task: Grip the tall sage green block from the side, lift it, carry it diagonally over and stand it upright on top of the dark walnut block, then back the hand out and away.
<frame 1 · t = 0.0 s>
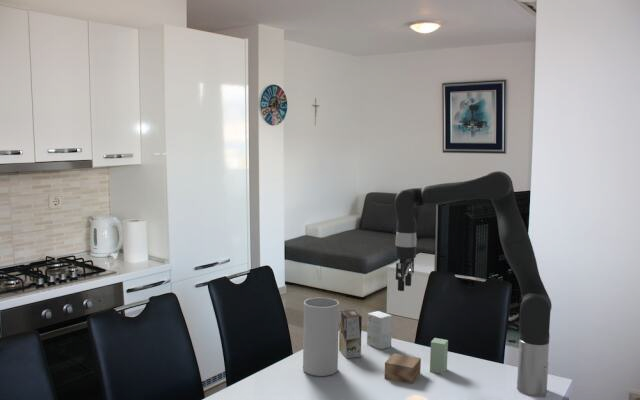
hand: (404, 288, 204), 29 cm above the table, tool pointing down, fingers open, 8 cm apart
coffee box: (349, 354, 219), on the table
cylinder vase: (320, 370, 202), on the table
sage block: (438, 370, 203), on the table
small box: (378, 345, 228), on the table
walnut block: (402, 376, 198), on the table
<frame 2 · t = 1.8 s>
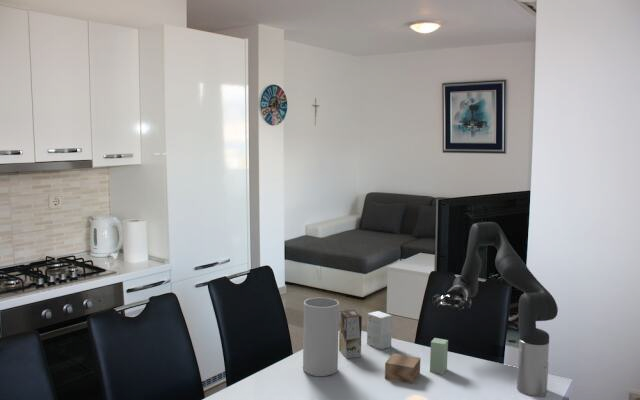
hand: (447, 305, 211), 21 cm above the table, tool horizontal, fingers open, 8 cm apart
nothing on the table moved.
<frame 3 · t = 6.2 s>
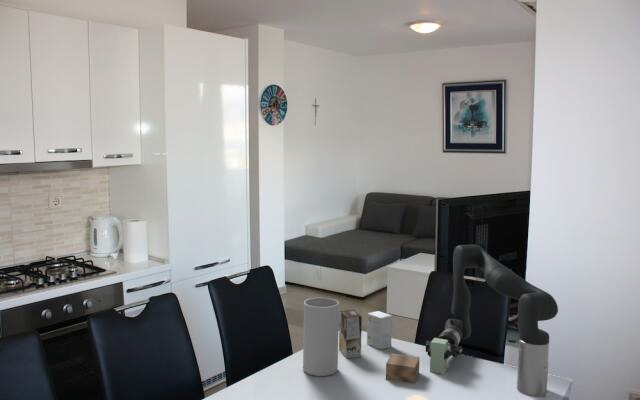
hand: (437, 355, 200), 7 cm above the table, tool horizontal, fingers closed on sage block, 5 cm apart
sage block: (438, 370, 203), on the table, touching gripper
everything else where it was.
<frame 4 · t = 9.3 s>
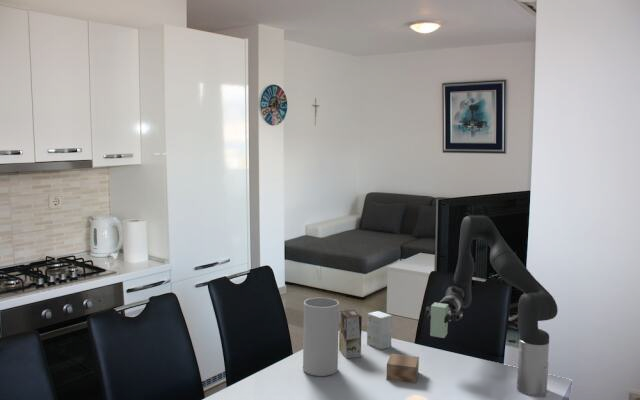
hand: (437, 319, 199), 20 cm above the table, tool horizontal, fingers closed on sage block, 5 cm apart
sage block: (438, 334, 202), point 13 cm above the table, touching gripper
everything else where it was.
when the fingers open (14 cm above the table, at t = 12.5 s): sage block drops 2 cm, point 6 cm above the table.
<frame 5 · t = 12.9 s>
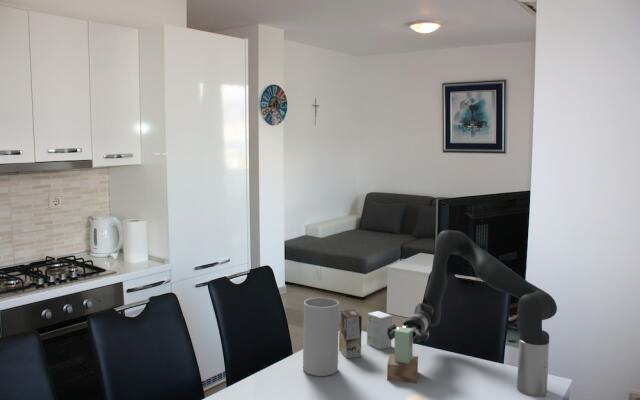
hand: (402, 339, 195), 14 cm above the table, tool horizontal, fingers open, 8 cm apart
sage block: (403, 360, 197), point 6 cm above the table
everything else where it was.
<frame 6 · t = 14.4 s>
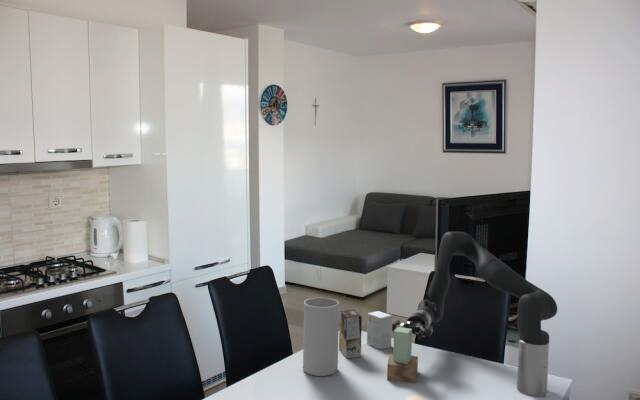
hand: (406, 334, 200), 14 cm above the table, tool horizontal, fingers open, 8 cm apart
sage block: (402, 360, 197), point 6 cm above the table, touching walnut block
walnut block: (402, 376, 198), on the table, touching sage block
everything else where it was.
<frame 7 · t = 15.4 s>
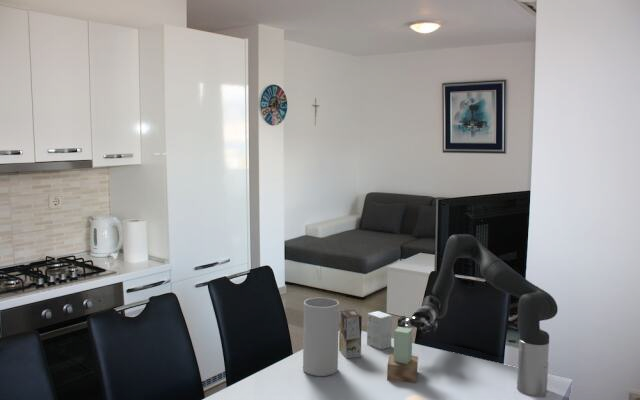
hand: (412, 329, 206), 14 cm above the table, tool horizontal, fingers open, 8 cm apart
sage block: (402, 360, 197), point 6 cm above the table
walnut block: (402, 376, 198), on the table
everything else where it was.
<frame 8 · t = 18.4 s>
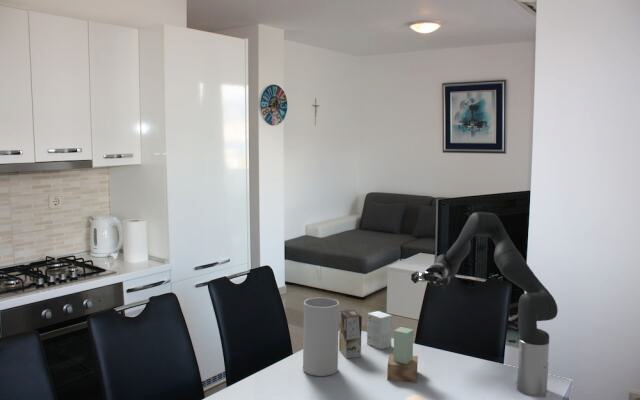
hand: (425, 282, 211), 30 cm above the table, tool horizontal, fingers open, 8 cm apart
sage block: (402, 360, 197), point 6 cm above the table, touching walnut block
walnut block: (402, 376, 198), on the table, touching sage block
everything else where it was.
at the end: sage block 0.2 cm off-centre on the walnut block, point 6.0 cm above the walnut block's base; sage block tilted 0°; the gripper is holding nothing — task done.
